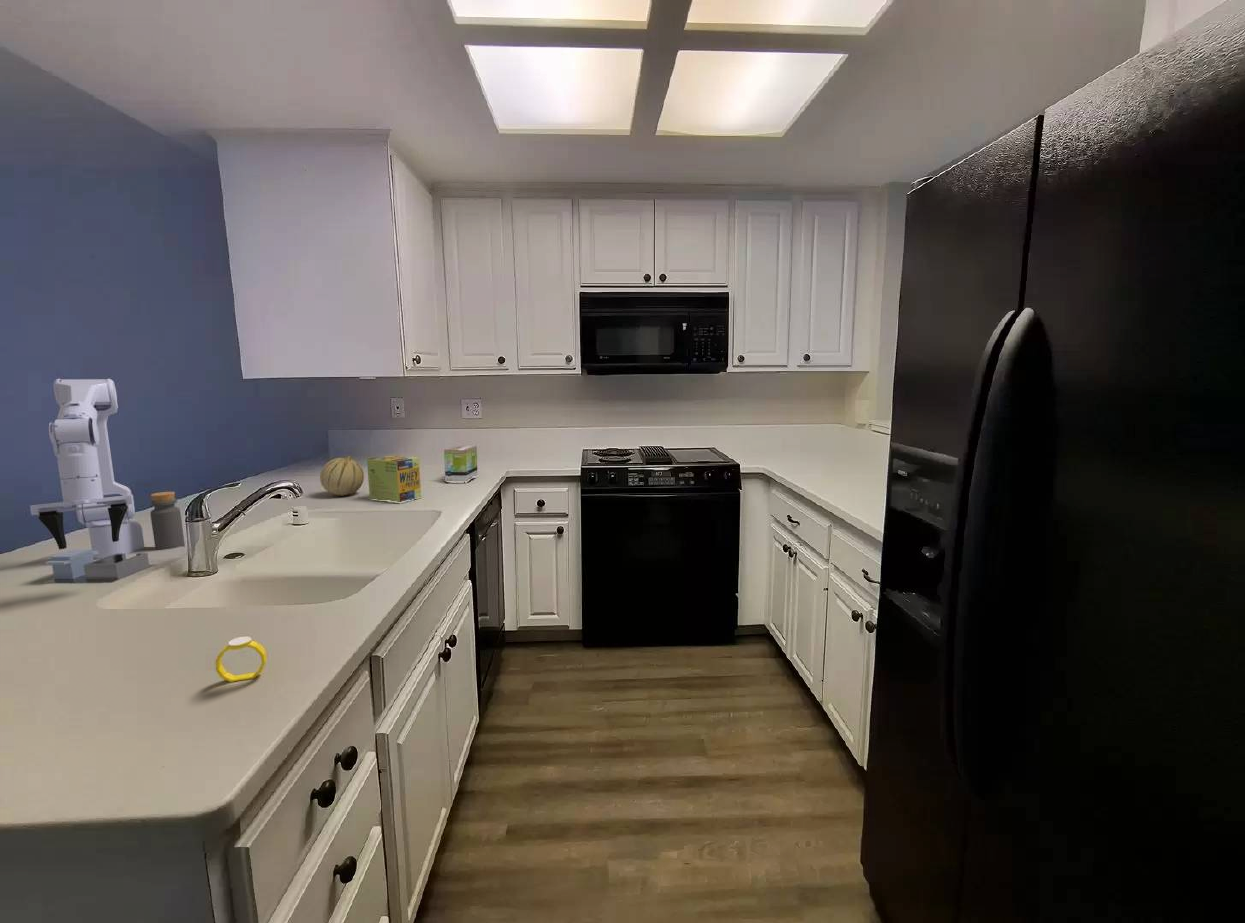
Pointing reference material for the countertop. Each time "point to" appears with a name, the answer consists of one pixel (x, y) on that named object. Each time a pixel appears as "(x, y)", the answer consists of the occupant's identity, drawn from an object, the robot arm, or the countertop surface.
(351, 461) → the cantaloupe
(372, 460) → the protein box
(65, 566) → the block
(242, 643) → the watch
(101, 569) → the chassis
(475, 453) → the tea box
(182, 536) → the bottle
